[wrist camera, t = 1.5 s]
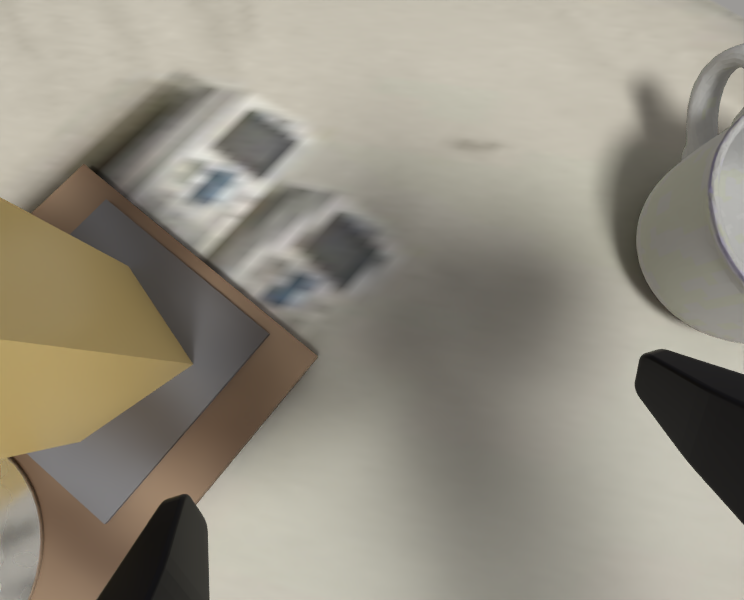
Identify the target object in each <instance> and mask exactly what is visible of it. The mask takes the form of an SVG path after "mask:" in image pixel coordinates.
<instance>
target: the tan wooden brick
mask: <svg viewBox="0 0 744 600" xmlns="http://www.w3.org/2000/svg"><path fill="white" fill-rule="evenodd" d="M191 365H193V363H192V362H191V360H190V359H189V357H188V356H187V354H186V353H185V351H184V349H183V348H182V346H181V345H180V343H179V342H178V340H177V339H176V337H175V336H174V334H173V333H172V331H171V330H170V328H169V327H168V325H167V324H166V322H165V321H164V319H163V318H162V316H161V315H160V313H159V312H158V310H157V309H156V307H155V306H154V304H153V303H152V301H151V300H150V298H149V297H148V295H147V294H146V292H145V291H144V289H143V288H142V286H141V285H140V283H139V281H138V280H137V278H136V277H135V275H134V274H133V272H132V271H131V269H130V268H129V266H127V265H125V264H123V263H121V262H120V261H118V260H116V259H114V258H112V257H110V256H108V255H107V254H105V253H103V252H101V251H99V250H97V249H95V248H94V247H92V246H90V245H88V244H86V243H84V242H82V241H80V240H79V239H77V238H75V237H73V236H71V235H69V234H67V233H66V232H64V231H62V230H60V229H58V228H56V227H54V226H52V225H51V224H49V223H47V222H45V221H43V220H41V219H39V218H38V217H36V216H34V215H32V214H30V213H28V212H26V211H25V210H23V209H21V208H19V207H17V206H15V205H13V204H11V203H10V202H8V201H6V200H4V199H2V198H0V459H2V458H7V457H12V456H16V455H21V454H26V453H30V452H35V451H40V450H44V449H49V448H54V447H58V446H63V445H68V444H72V443H77V442H81V441H82V440H83V439H85V438H86V437H88V436H89V435H91V434H92V433H94V432H95V431H97V430H98V429H99V428H101V427H102V426H104V425H105V424H107V423H108V422H110V421H111V420H113V419H114V418H116V417H117V416H118V415H120V414H121V413H123V412H124V411H126V410H127V409H129V408H130V407H132V406H133V405H135V404H136V403H137V402H139V401H140V400H142V399H143V398H145V397H146V396H148V395H149V394H151V393H152V392H153V391H155V390H156V389H158V388H159V387H161V386H162V385H164V384H165V383H167V382H168V381H170V380H171V379H172V378H174V377H175V376H177V375H178V374H180V373H181V372H183V371H184V370H186V369H187V368H189V367H190V366H191Z"/></svg>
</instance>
